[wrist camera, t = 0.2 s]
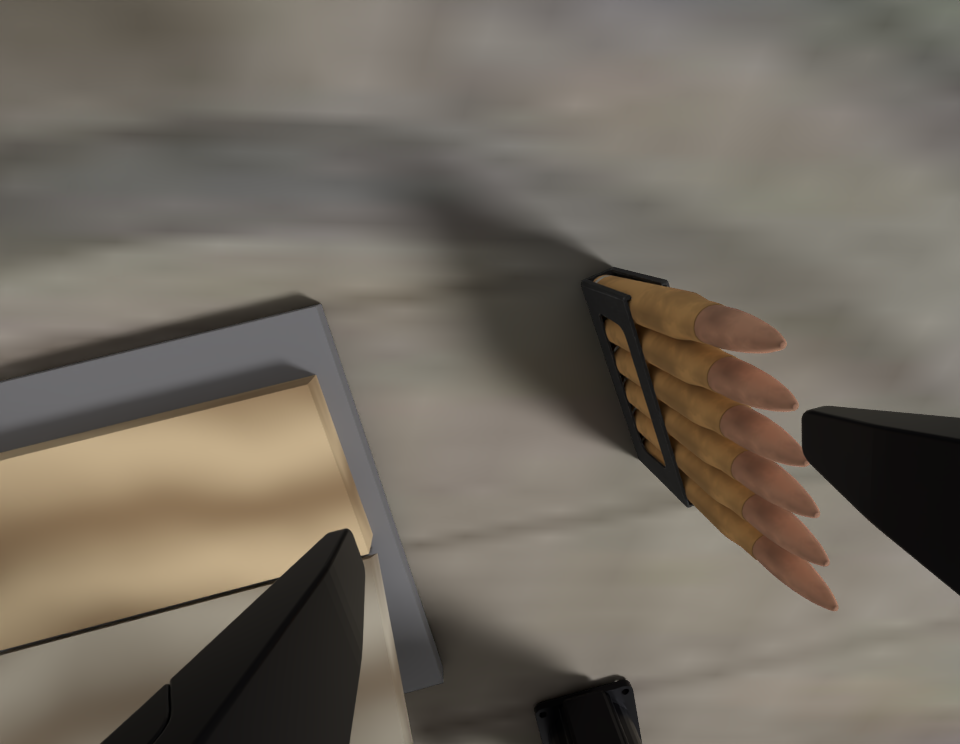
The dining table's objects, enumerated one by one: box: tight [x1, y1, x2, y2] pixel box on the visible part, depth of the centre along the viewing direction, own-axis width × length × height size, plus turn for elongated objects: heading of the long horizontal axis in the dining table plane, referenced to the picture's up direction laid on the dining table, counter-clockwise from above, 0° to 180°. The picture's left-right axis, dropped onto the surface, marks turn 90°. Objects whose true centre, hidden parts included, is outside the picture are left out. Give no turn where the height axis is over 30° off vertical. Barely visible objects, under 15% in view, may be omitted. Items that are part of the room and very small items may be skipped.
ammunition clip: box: [581, 267, 838, 611], centre depth 18 cm, size 11×2×12 cm, turn 22°
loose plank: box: [0, 553, 413, 744], centre depth 21 cm, size 9×20×2 cm, turn 103°
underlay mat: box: [0, 304, 443, 694], centre depth 24 cm, size 23×22×1 cm
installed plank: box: [0, 375, 373, 650], centre depth 21 cm, size 9×20×2 cm, turn 103°
